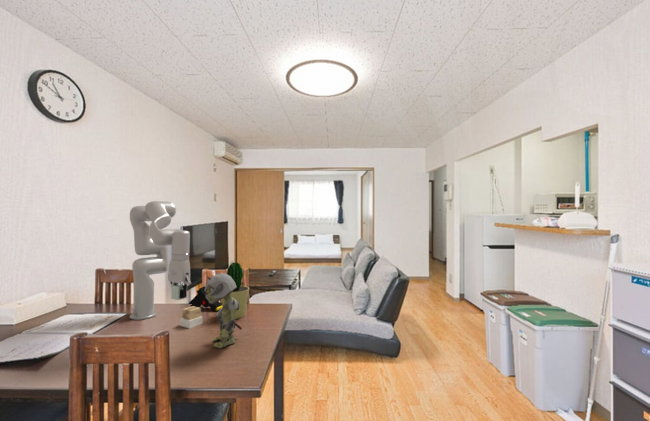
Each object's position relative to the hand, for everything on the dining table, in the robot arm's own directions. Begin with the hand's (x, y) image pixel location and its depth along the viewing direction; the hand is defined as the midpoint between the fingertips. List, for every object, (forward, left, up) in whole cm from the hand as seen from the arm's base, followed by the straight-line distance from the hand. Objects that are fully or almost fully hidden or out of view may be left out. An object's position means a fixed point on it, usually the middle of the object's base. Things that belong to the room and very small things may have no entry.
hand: (179, 296), depth 141 cm
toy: (+24, +4, -18) cm, 31 cm away
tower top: (-6, +12, -14) cm, 20 cm away
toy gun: (-21, +34, -18) cm, 44 cm away
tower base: (-6, +12, -18) cm, 23 cm away
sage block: (0, 0, -1) cm, 1 cm away
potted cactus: (+2, +33, -18) cm, 37 cm away
